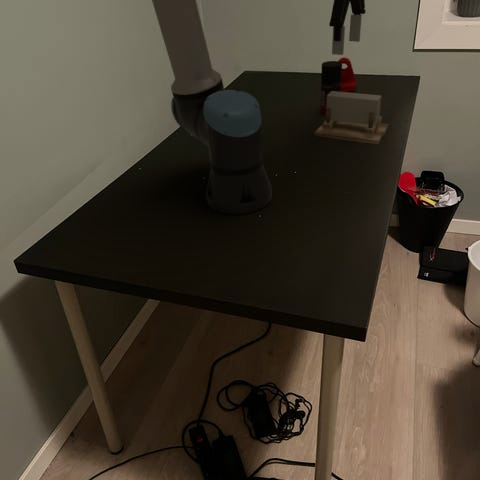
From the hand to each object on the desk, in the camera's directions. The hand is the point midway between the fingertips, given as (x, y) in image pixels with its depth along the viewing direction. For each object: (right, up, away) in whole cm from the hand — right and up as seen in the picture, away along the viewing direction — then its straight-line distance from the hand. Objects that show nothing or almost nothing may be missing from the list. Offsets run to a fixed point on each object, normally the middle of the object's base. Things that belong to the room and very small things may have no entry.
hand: (346, 47), depth 124 cm
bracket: (+8, +2, +43) cm, 44 cm away
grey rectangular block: (+4, -16, +11) cm, 20 cm away
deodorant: (+1, -10, +26) cm, 28 cm away
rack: (+4, -19, +13) cm, 23 cm away
